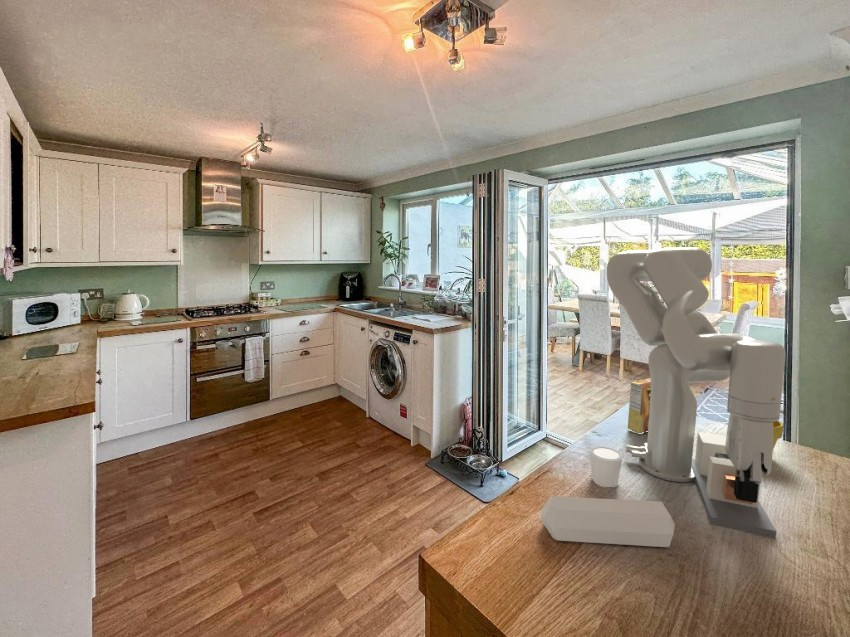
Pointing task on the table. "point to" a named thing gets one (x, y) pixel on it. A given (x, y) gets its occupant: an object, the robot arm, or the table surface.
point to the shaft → (729, 484)
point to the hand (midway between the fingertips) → (745, 498)
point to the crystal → (608, 521)
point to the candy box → (639, 405)
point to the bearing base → (733, 512)
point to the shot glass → (605, 466)
